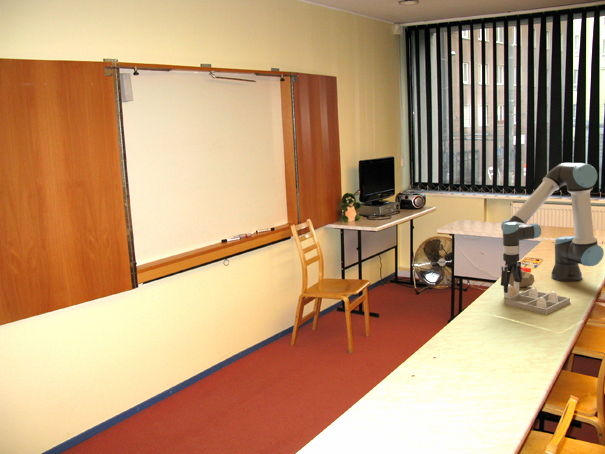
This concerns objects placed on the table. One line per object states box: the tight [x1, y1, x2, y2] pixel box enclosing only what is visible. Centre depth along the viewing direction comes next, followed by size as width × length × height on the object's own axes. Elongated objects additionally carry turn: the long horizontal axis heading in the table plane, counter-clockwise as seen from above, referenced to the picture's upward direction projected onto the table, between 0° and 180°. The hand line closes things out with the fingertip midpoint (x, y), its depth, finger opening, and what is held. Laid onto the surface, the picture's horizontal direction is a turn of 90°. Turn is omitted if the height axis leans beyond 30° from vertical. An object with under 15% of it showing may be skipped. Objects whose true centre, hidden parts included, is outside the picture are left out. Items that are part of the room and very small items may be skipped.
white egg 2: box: [537, 297, 546, 309], centre depth 247 cm, size 4×4×6 cm
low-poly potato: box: [508, 269, 535, 288], centre depth 281 cm, size 15×11×12 cm
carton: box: [504, 288, 571, 315], centre depth 254 cm, size 21×21×3 cm
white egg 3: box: [548, 291, 559, 303], centre depth 252 cm, size 4×4×6 cm
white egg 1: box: [529, 287, 538, 298], centre depth 260 cm, size 4×4×6 cm
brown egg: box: [509, 285, 517, 297], centre depth 268 cm, size 4×4×6 cm
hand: (511, 296), depth 268 cm, fingers open, 8 cm apart
